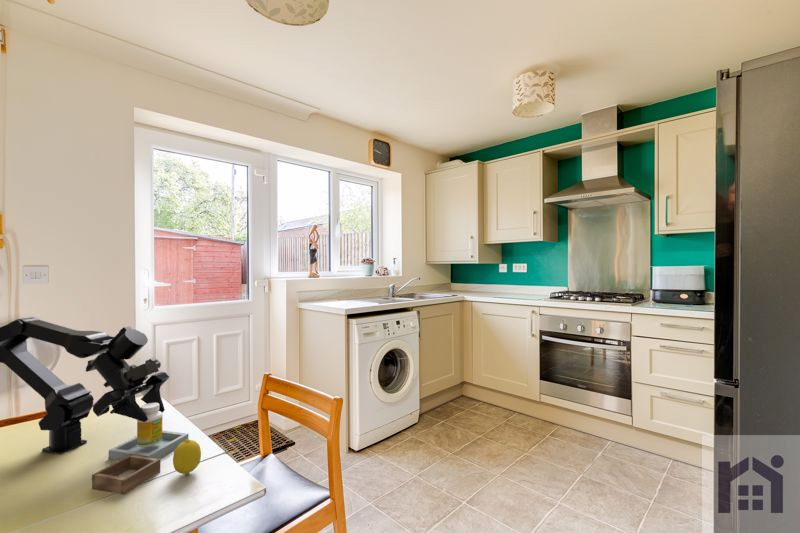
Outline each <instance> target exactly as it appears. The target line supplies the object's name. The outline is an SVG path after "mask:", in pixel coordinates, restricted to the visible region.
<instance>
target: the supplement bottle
mask: <svg viewBox="0 0 800 533" xmlns="http://www.w3.org/2000/svg"><path fill="white" fill-rule="evenodd" d="M140 408H141V409H142V410H143V412H144V413H145V414H146V416H147V418H148V420H147V421H146V422H142V421H139V420H136V421H137V423H136V426H137V427H136V430H137V431H136V437H137V446H139V447H150V446H154V445H156V444H158V443H160V442H161V441H162V430H163V420H164V418H163V417H164V416H163V413H162V412H161V411H158V410H159V403H148V404H147V403H145V404H143V405H141V406H140Z"/></svg>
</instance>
